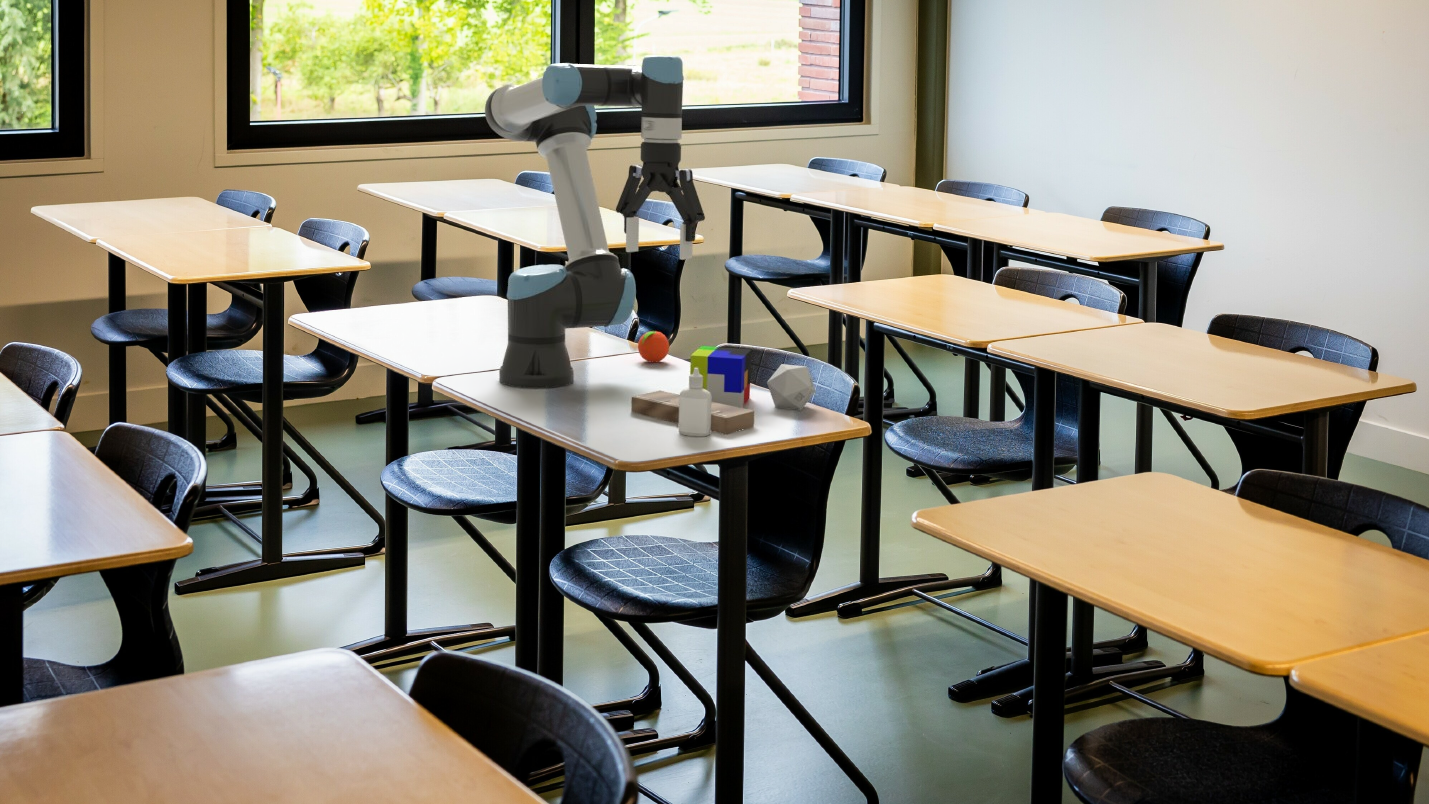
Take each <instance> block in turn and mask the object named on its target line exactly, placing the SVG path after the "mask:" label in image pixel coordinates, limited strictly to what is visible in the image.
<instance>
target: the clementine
mask: <svg viewBox="0 0 1429 804" xmlns="http://www.w3.org/2000/svg"><path fill="white" fill-rule="evenodd" d="M637 343H638V344H637V350H638V352H639V353H638V354H639V355H640V356H641V358H642V359H644V361H646V362H649V363H658V362H662V360H665V358H666V357H667V355H668V354H669V350H670V342H669V340H668V338H667V336H666V335H665V334H663V333H662V332H661V331H657V330H652V331H647V332H646V333H644V334H642V336H640V338H639V341H638V342H637Z"/></svg>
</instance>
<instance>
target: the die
mask: <svg viewBox="0 0 1429 804" xmlns="http://www.w3.org/2000/svg"><path fill="white" fill-rule="evenodd" d="M766 384H767V386H768V387H767V388H768V391H769V393H770V396H771V399H772V401H773V405H774V407H775V408H779V409H790V410H799V411H800V410H801V411H802V410H803V409H804V407H805V406H807V403H808V402H809V401H810V400H811V398H812V397H813V396H814V395H815V393H816V392H817V391H816V387H815V384H814V382H813V379H812V375H811V373H810V369H809V367H808V366H804V365H793V364H786V363H781V364H780V366H779V367H778V368H777V369H776V371H774V372H773V374H772V375H771V377H770V378H769V379H768V381H766Z"/></svg>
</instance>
